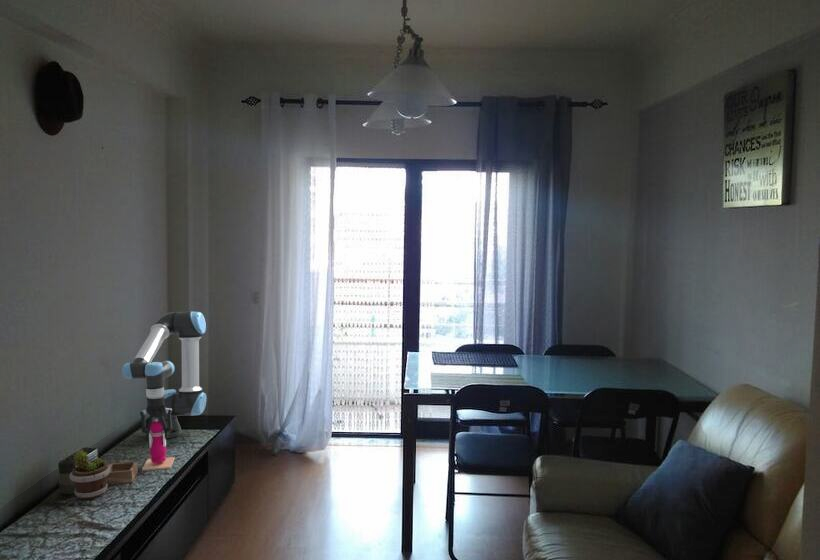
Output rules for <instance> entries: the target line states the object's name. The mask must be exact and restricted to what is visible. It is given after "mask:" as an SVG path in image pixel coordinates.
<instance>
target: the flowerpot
mask: <svg viewBox="0 0 820 560" xmlns="http://www.w3.org/2000/svg"><path fill="white" fill-rule="evenodd" d="M89 457H90V456H89V455H88V452H87V451H84V449H80V448H79V447H78V449H76V452H75V453H74V454H73V457H72V458H73V459H72V463H73V462H74V463H73V466H75V467H76V466H77V467H76V468H75V467H74V468H72V471H71V472H70V473H69V477H68V479H70V481H71V482H72V483H73V486H74V488H75V489H74V495H75V496H76V497H77V498H78V499H79V498H80V500H82V499H87V500H93V499H94V498H95V497H97V498H99V496H100V497H101V495H102V496H103V495H105V492H106V491H108V490H107V489H108V486H109V484H107V483H106V482H107V477H108V474H109V473H110V469H111V468H110V466H109V465H110V464H108V463H107V462H106V461H103V459H102V458H101V457H98V456H94V458H93V459H92V460H91V461H89ZM92 498H93V499H92ZM95 499H96V498H95Z"/></svg>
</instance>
